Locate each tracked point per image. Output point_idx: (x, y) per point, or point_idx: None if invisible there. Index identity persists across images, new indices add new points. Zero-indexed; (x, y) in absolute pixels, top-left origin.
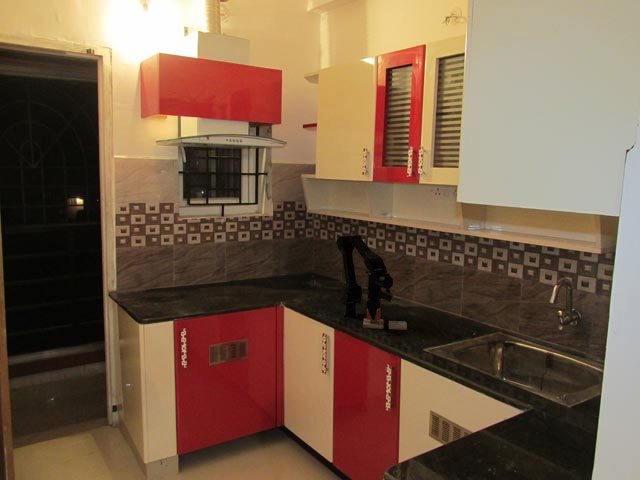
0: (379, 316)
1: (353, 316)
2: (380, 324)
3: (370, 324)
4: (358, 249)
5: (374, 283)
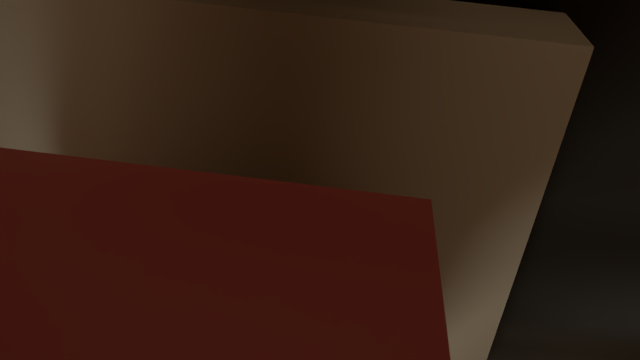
0: (439, 320)
1: None
2: (471, 121)
3: (452, 342)
4: None
5: None
